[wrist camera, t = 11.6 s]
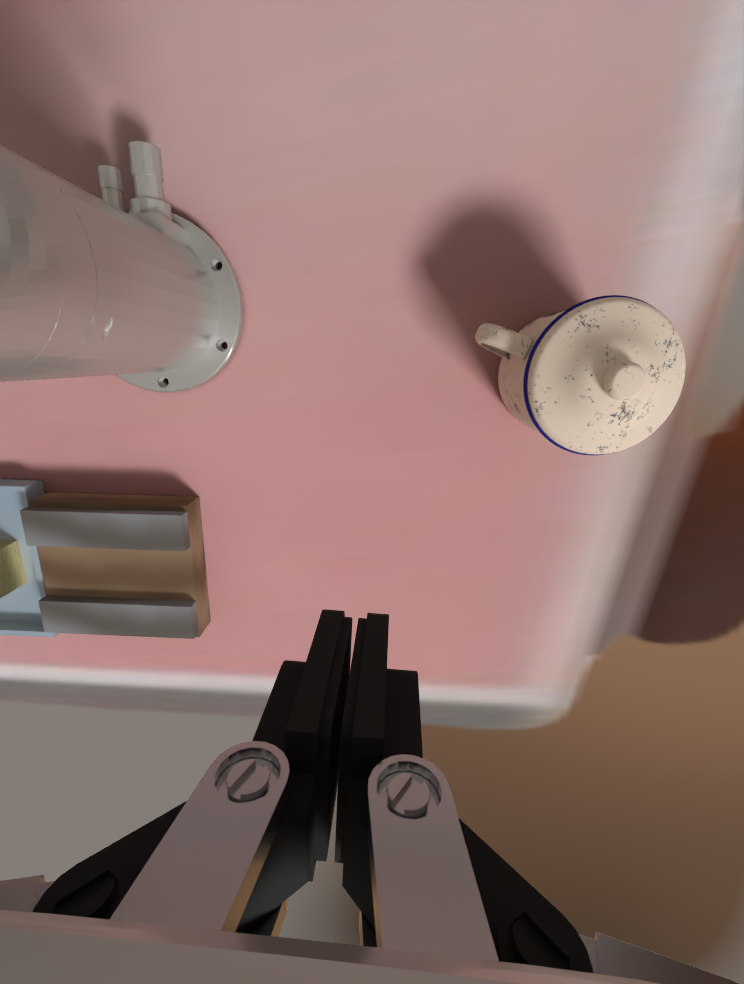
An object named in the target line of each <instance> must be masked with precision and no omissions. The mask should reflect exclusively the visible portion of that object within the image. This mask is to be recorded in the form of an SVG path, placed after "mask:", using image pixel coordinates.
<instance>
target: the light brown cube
mask: <svg viewBox="0 0 744 984" xmlns="http://www.w3.org/2000/svg"><path fill="white" fill-rule="evenodd" d="M27 582H28V581H27V577H26V573H25V568H24V564H23V560H22V556H21V552H20V548H19V543H18V540H0V599H1V598H2V597H4V596H5V595H7V594H9V593H10V592H12V591H14V590H15V589H17V588H18V587H20V586H22V585H23V584H25V583H27Z"/></svg>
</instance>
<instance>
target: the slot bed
mask: <svg viewBox="0 0 744 984" xmlns="http://www.w3.org/2000/svg"><path fill="white" fill-rule="evenodd" d="M28 503H29V507H27V508H24V509H22V510H20V515H21V520H22V525H23V530H24V534H25V539H26V544H27V546H37V548H38V553H39V558H40V563H41V568H42V573H43V579H44V584H45V589H46V594H47V595H46V596H45V597H43V598H42V599H40V600H39V601H38V602H39V607H40V612H41V617H42V622H43V627H44V632H49V633H73V634H96V635H119V636H143V637H166V638H189V639H194V638H195V637H200V636H201V634H202V633H203V631H204V630H205V628H206V627H207V625H208V624H209V623H210V611H209V600H208V588H207V577H206V566H205V555H204V544H203V533H202V521H201V510H200V499H199V497H196V496H164V495H132V494H101V493H69V492H49V493H46V494H43V495H41V496H38V497H36V498H33V499H31V500H28Z"/></svg>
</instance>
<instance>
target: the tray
mask: <svg viewBox="0 0 744 984" xmlns="http://www.w3.org/2000/svg"><path fill="white" fill-rule="evenodd" d="M43 494H45V492H44V487H43V482H42V480H10V479H0V540H18V543H19V548H20V552H21V556H22V560H23V564H24V568H25V573H26V577H27V581H28V582H27V583H25V584H23V585H22V586H20V587H18V588H17V589H15V590H14V591H12V592H10V593H9V594H7V595H5V596H4V597H2V598H1V599H0V635H16V636H39V637H55V636H56V635H58V634H59V633H49V632H44V627H43V622H42V617H41V612H40V607H39V602H38V601H39V600H40V599H42V598H43V597H45V596H46V595H47V594H46V589H45V584H44V579H43V573H42V568H41V563H40V558H39V553H38V548H37V546H27V544H26V539H25V534H24V530H23V525H22V520H21V515H20V510H22V509H24V508H27V507H29V503H28V500H31V499H33V498H36V497H38V496H41V495H43Z"/></svg>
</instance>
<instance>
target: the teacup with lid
mask: <svg viewBox="0 0 744 984" xmlns="http://www.w3.org/2000/svg"><path fill="white" fill-rule="evenodd" d="M475 340H476V342H477V343H478V344H479V345H480V346H482V347H483V348H485V349H487V350H489V351H491V352H493V353H495V354H497V355H499V356H501V357H502V359H501V362H500V366H499V373H498V385H499V391H500V395H501V398H502V400H503V402H504V404H505V406H506V408H507V409H508V411H509V412H510V413H511V414H512V415H513V416H514V417H515V418H516V419H517V420H518V421H519V422H521V423H522V424H524V425H526V426H528V427H530V428H532V429H534V430H536V431H538V432H539V433H541V434H542V435H543V436H544V437H545V438H546V439H548V440H549V441H550V442H551V443H553V444H555V445H556V446H558V447H560V448H562V449H564V450H567V451H569V452H573V453H577V454H582V455H604V454H610V453H614V452H618V451H621V450H624V449H626V448H629V447H631V446H633V445H635V444H637V443H639V442H641V441H642V440H644V439H645V438H647V437H648V436H649V435H651V434H652V433H653V432H654V431H655V430H656V429H657V428H658V427H659V426H660V425H661V424H662V423H663V422H664V421H665V420H666V418H667V417H668V416H669V414H670V413H671V411H672V410H673V408H674V406H675V404H676V403H677V400H678V398H679V396H680V393H681V390H682V387H683V383H684V378H685V366H686V363H685V353H684V348H683V345H682V341H681V339H680V336H679V334H678V332H677V330H676V328H675V327H674V326H673V324H672V323H671V321H670V320H669V319H668V318H667V317H666V316H665V315H664V314H663V313H662V312H660V311H659V310H658V309H656V308H655V307H653V306H652V305H650V304H648V303H646V302H644V301H641V300H639V299H636V298H632V297H627V296H617V295H611V296H601V297H596V298H592V299H589V300H586V301H583V302H580V303H578V304H576V305H574V306H572V307H571V308H569V309H567V310H565V311H561V312H558V313H554V314H550V315H547V316H544V317H541V318H539V319H536V320H534V321H533V322H531V323H529V324H528V325H526V326H525V327H524V328H522V329H521V330H520V331H519V332H518V333H517V332H515V331H512V330H510V329H507V328H505V327H502V326H499V325H495V324H491V323H484V324H482V325H480V326H479V328H478V330H477V332H476V334H475Z"/></svg>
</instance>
